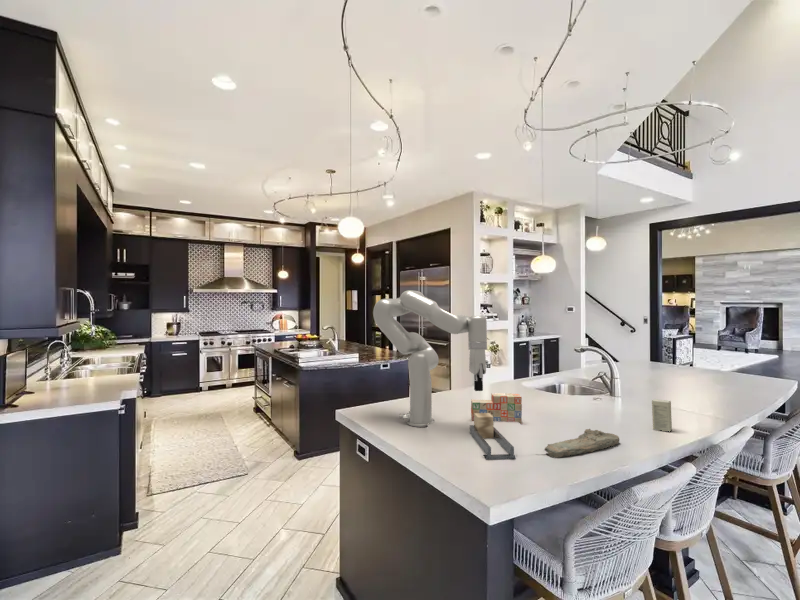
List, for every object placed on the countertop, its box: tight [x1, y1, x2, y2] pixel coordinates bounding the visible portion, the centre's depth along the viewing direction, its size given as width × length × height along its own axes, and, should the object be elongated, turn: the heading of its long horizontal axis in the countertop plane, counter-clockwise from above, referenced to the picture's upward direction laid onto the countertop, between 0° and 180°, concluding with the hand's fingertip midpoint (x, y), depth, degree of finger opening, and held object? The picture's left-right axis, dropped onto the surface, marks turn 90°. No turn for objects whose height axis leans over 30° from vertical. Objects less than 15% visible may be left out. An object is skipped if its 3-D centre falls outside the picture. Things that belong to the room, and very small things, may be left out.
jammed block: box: [473, 413, 495, 439], centre depth 159 cm, size 6×6×8 cm
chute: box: [469, 424, 516, 461], centre depth 151 cm, size 10×26×4 cm, turn 4°
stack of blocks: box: [470, 392, 523, 425], centre depth 183 cm, size 21×6×12 cm, turn 85°
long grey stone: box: [544, 428, 620, 459], centre depth 149 cm, size 35×5×10 cm
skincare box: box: [651, 398, 673, 433], centre depth 171 cm, size 6×4×12 cm
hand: (478, 390), depth 169 cm, fingers closed
